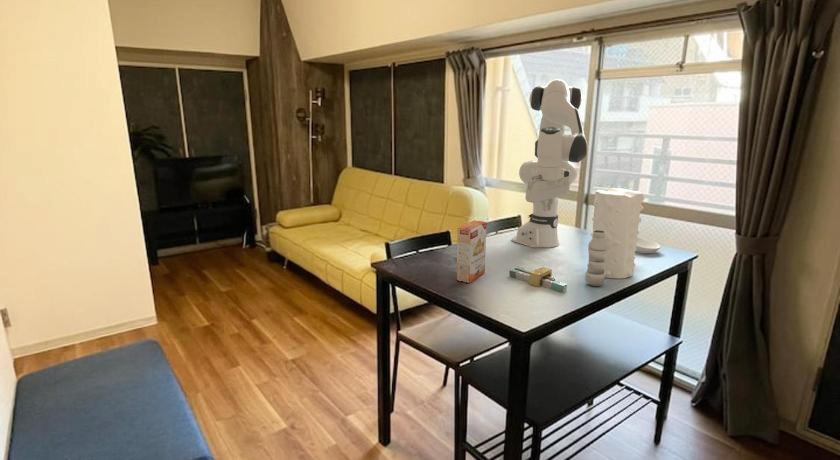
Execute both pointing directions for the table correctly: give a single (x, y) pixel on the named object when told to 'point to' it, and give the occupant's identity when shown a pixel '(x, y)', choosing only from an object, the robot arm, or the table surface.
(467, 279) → the cracker box
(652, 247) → the spoon rest
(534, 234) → the robot arm
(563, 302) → the table surface
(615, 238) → the white bumpy sculpture
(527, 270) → the tong arm
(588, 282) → the plastic bottle
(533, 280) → the lock collar
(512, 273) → the green-tipped wooden stick
